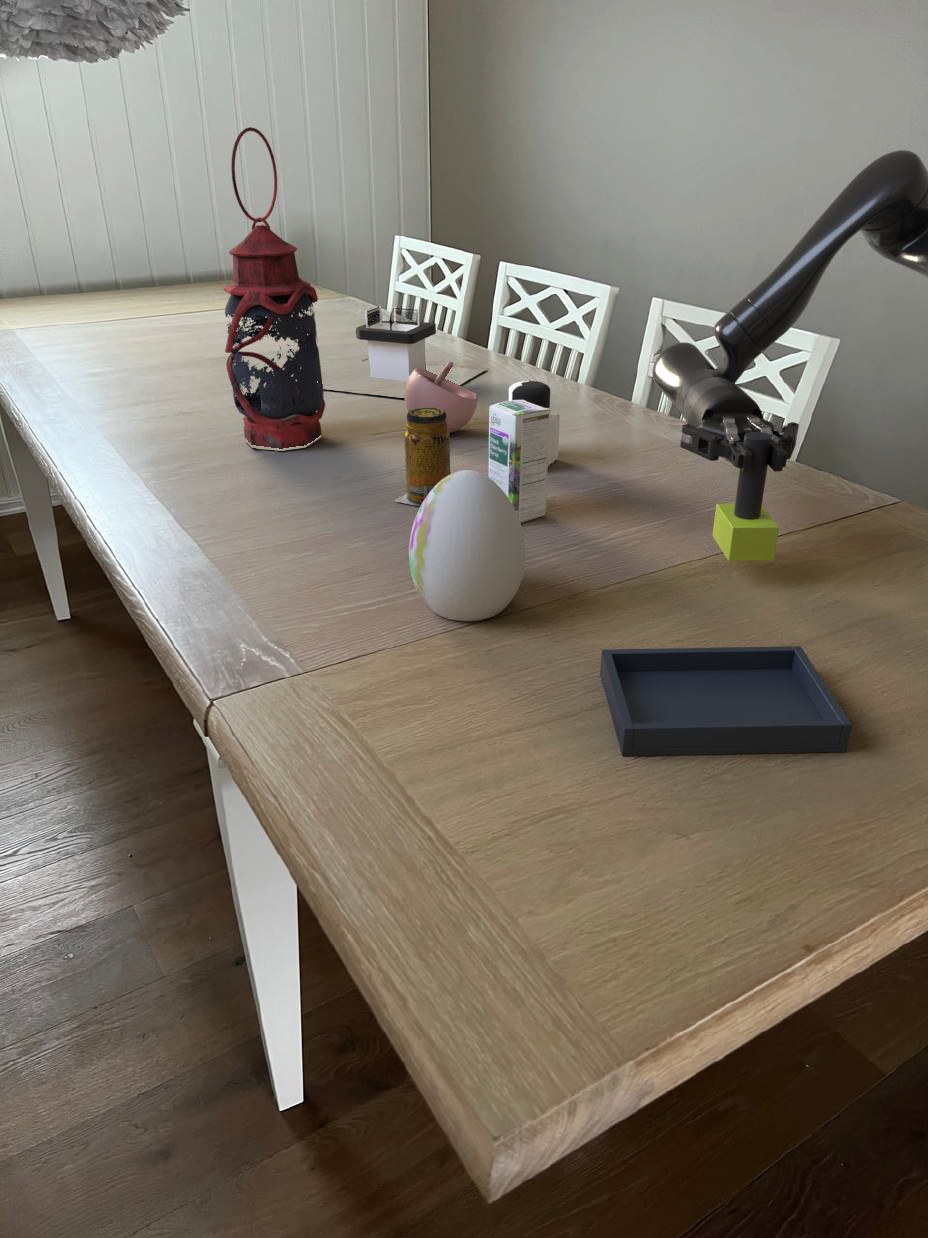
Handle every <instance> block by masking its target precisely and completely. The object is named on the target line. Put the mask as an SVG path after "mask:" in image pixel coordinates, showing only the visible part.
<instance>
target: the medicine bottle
mask: <svg viewBox="0 0 928 1238" xmlns="http://www.w3.org/2000/svg"><path fill="white" fill-rule="evenodd" d="M511 400H525V401H526V402H529V403H532V404H535V405H538V406H541V407H543V408H548V409H550V410H551V387H550V386H549V385H548V384H546V383H544V382H542V381H537V380H521V381H517V382H515V383H513V384H511V385H510V386H509V388H508V401H511ZM560 419H561V415H560V414H559V413H555V412H550V424H549V446H548V467H549V466H551V465H552V464H553V463H555V462H556V461H557V460H558V459H559V447H560V445H559V444H560ZM555 460H556V461H555ZM551 463H552V464H551ZM550 464H551V465H550Z"/></svg>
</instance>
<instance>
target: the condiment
mask: <svg viewBox="0 0 928 1238" xmlns="http://www.w3.org/2000/svg"><path fill="white" fill-rule="evenodd" d="M446 417H447V416H446V412H445V411H443V410H441V409H438V408H430V407H429V408H428V407H425V408H417V409H413V410H411V411H409V412H408V411H407V414H406V429H407V430H406V431H405V433H404V453H405V460H404V462H405V481H406V493H404V494H403V495H402V496H399V497H398V498H396V499H394V502H397V503H400V504H401V503H402V504H405V505H410V506H417V507H420V506H421V505H422V503H423V501H424V499H425V498H426V497H427V495H428V494H429V493H430V491H431V490H432V489H433V488H434V487H435V486H436V485H437V484H438V483H439V482H440V481H441V480H442V479H444V478H445V477H446V476H448V475H450V474H452V473H451V442H450V438H451V436H450V433H449V432H448V430H447V422H446Z"/></svg>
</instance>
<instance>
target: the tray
mask: <svg viewBox="0 0 928 1238" xmlns="http://www.w3.org/2000/svg"><path fill="white" fill-rule="evenodd" d="M600 655H601V656H600V671H599V676H600V679H601V683H602V687H603V691H604V695H605V698H606V702H607V705H608V709H609V712H610V717H611V720H612V724H613V729H614V732H615V734H616V738H617V742H618V746H619V749H620V750H619V751H620V753H621V756H622V757H645V756H646V757H647V756H649V757H651V756H652V757H653V756H656V757H657V756H699V755H700V756H702V755H703V756H705V755H710V756H711V755H755V754H756V755H758V754H760V755H761V754H811V753H813V754H814V753H815V754H817V753H846V752H847V749H848V745H849V741H850V737H851V732H852V729H853V723H852V721H850V718H848V716H847V714H846V713H845V712H844V710H843V708H842V707H841V705H840V704H839V702H838V701H837V699H836V698H835V696H834V695H833V693H832V692H831V690H830V688H829V687H828V685H827V684H826V683H825V680H823V677H821V675H820V673H819V672H818V671H817V669H816V667H815V666H814V664H813V663H812V661H811V660H810V658H809V656H807V653H806V652H805V651H804V649H803V647H802V646H801V645H799V646H798V645H796V646H795V645H794V646H792V645H787V646H786V645H785V646H783V645H782V646H780V645H779V646H735V647H734V646H731V647H730V646H728V647H727V646H725V647H724V646H723V647H672V648H665V647H664V648H619V649H617V648H614V649H611V648H610V649H601V653H600Z"/></svg>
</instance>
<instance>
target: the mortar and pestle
mask: <svg viewBox="0 0 928 1238" xmlns="http://www.w3.org/2000/svg"><path fill="white" fill-rule="evenodd" d="M444 365H445V366H444V368H443V369H442V370H441V372H440V374H439V375H436V374H433V373H431V372H429V371H427V370H424V369H420V368H417V369H414V371H413V372H412V373H411V375H410V377H409V378H408V381H407V383H406V387H405V395H404V396H405V399H404V404H405V407H406V408H405V409H406V410H407V413H408V412H409V411H411V410H413V409H417V408H425V407H428V408H429V407H430V408H438V409H441V410H443V411H445V412H446V416H447V417H446V422H447V430H448V432H449V434H450V433H453V432H457V431H458V430H460V429H462V428H463V427H464V426H466V425H467V424H468V423H469V422H470V421H471V419H472V418H473V416H474V415H475V412H476V410H477V408H478V403H479V397H478V395H477V393H476V392H474V391H472V390H470V389H467V388H465V387H463V386H462V385H461V386H459V385H457V384H455V383H453V382H451V381H449V380H446V379H445V377H446V376H447V374H448V373H449V371H450V369H451V368H452V367H453V366H454V362H452V361H448V362H446V364H444Z"/></svg>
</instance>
